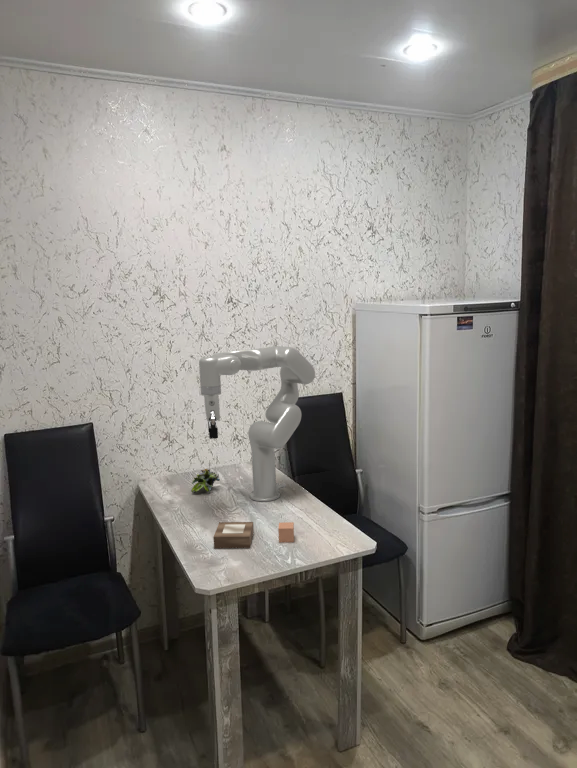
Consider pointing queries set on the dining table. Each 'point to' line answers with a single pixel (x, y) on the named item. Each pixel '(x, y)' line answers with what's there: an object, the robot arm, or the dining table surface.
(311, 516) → the dining table surface
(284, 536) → the terracotta cube
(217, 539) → the walnut frame
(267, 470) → the robot arm
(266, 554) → the dining table surface
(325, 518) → the dining table surface
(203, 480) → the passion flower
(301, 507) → the dining table surface
